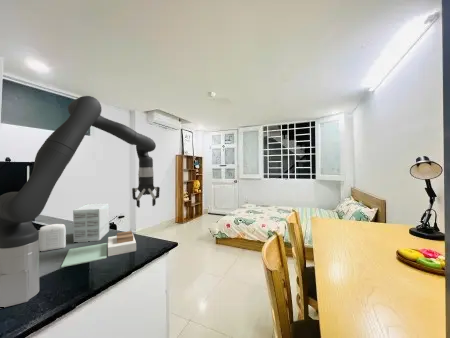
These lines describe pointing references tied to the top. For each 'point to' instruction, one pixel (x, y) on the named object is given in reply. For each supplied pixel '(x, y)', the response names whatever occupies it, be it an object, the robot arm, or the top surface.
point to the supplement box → (90, 222)
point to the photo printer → (52, 237)
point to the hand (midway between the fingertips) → (146, 206)
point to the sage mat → (85, 254)
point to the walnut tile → (124, 237)
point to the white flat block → (120, 246)
